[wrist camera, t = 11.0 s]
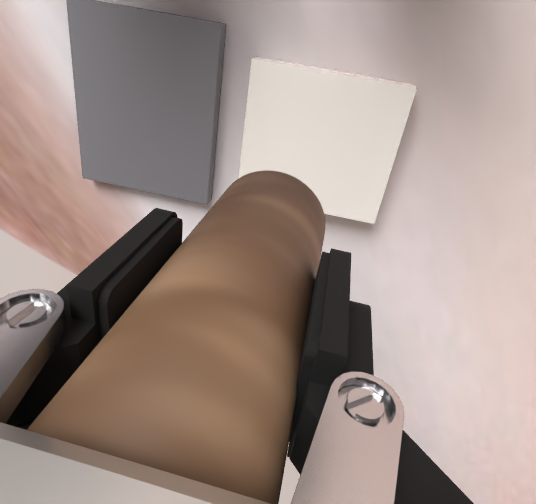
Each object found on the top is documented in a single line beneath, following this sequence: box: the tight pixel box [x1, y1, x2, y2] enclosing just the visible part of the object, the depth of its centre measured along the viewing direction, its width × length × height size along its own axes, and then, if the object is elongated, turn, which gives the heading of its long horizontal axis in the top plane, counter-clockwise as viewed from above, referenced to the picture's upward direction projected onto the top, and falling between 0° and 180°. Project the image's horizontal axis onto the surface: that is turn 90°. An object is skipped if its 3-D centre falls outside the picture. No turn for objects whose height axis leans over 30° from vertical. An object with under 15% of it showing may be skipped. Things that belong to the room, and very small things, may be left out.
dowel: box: [27, 170, 325, 504], centre depth 8 cm, size 4×4×14 cm
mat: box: [66, 0, 226, 204], centre depth 28 cm, size 10×12×1 cm
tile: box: [238, 57, 417, 224], centre depth 27 cm, size 2×9×10 cm
